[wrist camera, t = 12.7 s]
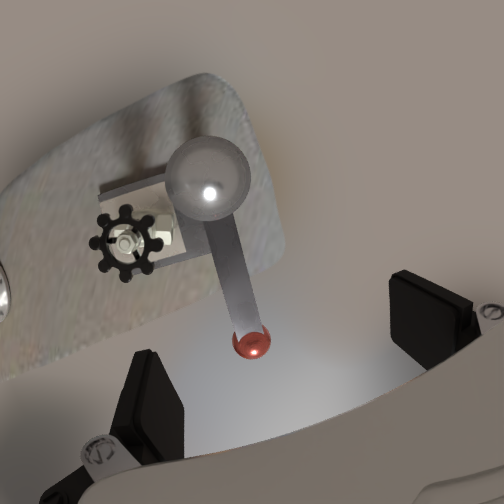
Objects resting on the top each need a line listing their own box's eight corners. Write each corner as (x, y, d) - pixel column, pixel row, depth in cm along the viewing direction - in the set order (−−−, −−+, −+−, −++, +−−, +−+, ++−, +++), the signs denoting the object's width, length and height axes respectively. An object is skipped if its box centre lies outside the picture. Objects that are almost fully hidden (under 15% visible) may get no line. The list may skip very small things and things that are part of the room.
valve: (122, 198, 33) (88, 204, 21) (175, 199, 34) (164, 205, 22) (122, 251, 34) (90, 281, 22) (173, 253, 35) (163, 285, 24)
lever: (160, 153, 15) (154, 147, 13) (234, 134, 16) (240, 125, 14) (221, 355, 19) (225, 375, 17) (283, 336, 19) (293, 354, 17)
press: (125, 275, 36) (55, 377, 14) (100, 194, 33) (-11, 211, 11) (233, 244, 38) (285, 322, 16) (212, 160, 35) (236, 119, 13)
